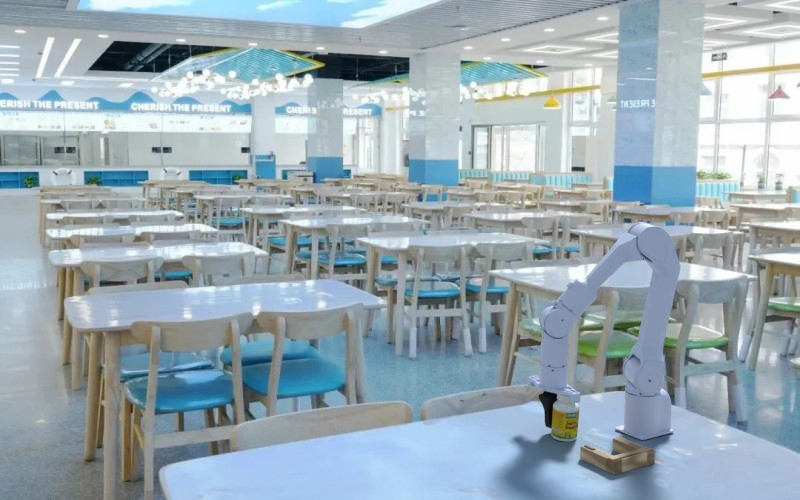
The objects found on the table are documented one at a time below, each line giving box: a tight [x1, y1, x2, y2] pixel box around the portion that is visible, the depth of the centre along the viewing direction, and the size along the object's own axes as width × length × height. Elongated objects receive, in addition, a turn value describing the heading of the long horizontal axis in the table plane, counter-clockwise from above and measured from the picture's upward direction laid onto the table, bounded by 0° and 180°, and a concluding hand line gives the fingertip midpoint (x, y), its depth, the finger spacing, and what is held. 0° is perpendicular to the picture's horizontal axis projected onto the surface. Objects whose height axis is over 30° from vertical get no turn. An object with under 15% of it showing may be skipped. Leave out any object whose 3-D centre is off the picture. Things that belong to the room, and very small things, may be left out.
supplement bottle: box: [551, 394, 580, 443], centre depth 170 cm, size 5×5×10 cm
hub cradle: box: [579, 436, 656, 475], centre depth 158 cm, size 10×9×3 cm
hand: (551, 426), depth 174 cm, fingers closed
